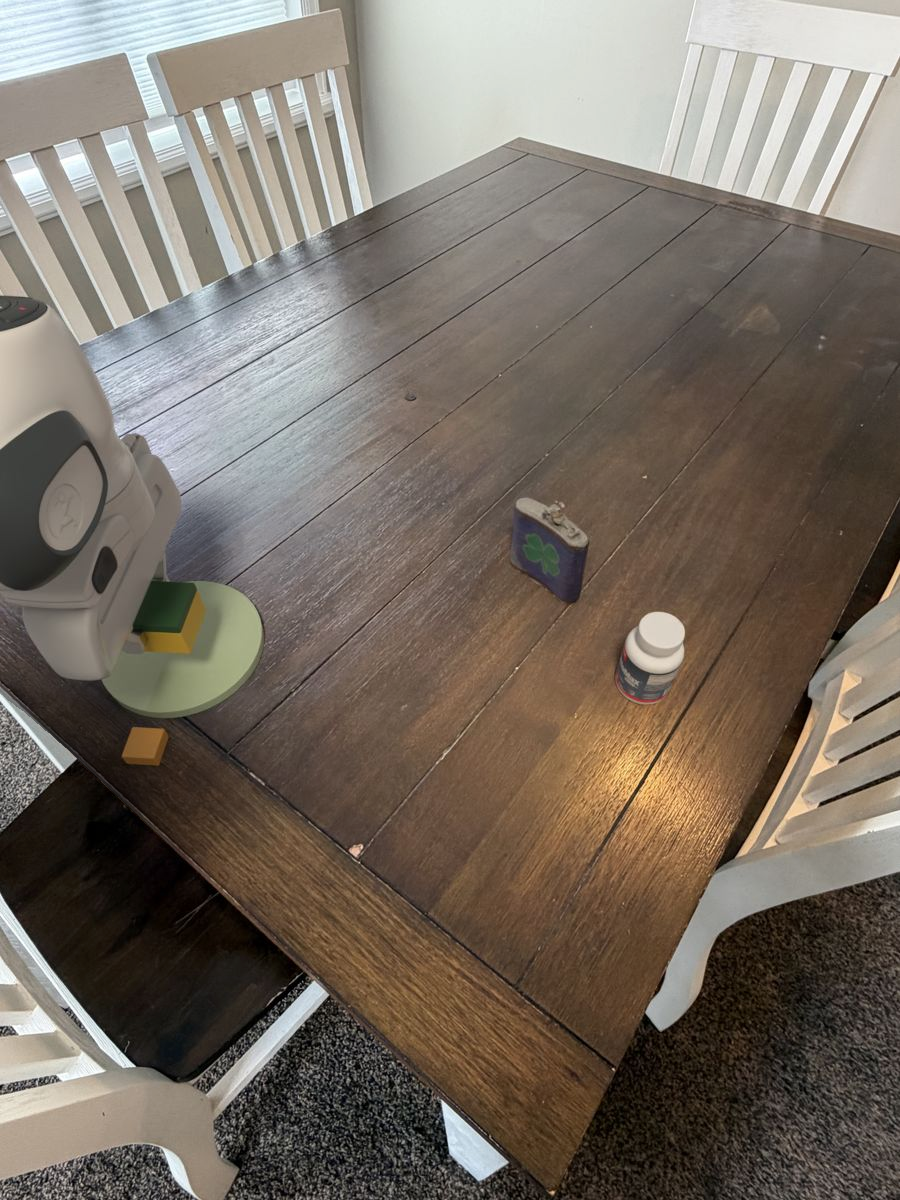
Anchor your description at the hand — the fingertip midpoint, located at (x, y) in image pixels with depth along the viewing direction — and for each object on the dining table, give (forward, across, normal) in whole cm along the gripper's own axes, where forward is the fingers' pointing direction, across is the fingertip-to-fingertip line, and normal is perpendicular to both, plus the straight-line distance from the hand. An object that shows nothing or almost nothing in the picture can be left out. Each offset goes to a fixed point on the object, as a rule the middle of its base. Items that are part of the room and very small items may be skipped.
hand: (149, 618), depth 66 cm
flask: (+8, -14, +36) cm, 40 cm away
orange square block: (+8, +9, 0) cm, 12 cm away
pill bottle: (+9, -1, +46) cm, 46 cm away
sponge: (+2, 0, 0) cm, 2 cm away
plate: (+8, -3, 0) cm, 9 cm away
